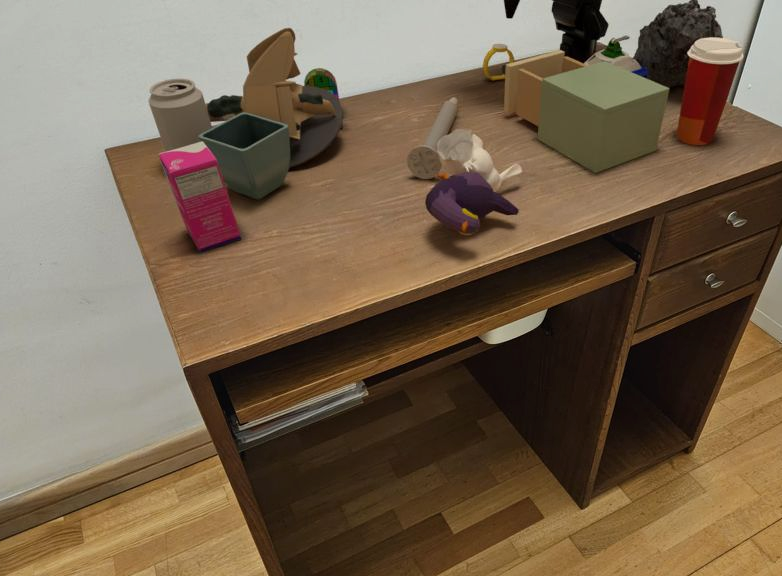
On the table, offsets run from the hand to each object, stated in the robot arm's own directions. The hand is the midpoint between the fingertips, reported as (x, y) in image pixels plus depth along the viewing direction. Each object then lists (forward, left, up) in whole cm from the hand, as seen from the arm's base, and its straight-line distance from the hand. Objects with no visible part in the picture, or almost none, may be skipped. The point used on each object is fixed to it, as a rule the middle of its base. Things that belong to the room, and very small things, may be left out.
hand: (509, 17), depth 110 cm
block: (+35, -6, -12) cm, 38 cm away
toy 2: (+29, +27, -8) cm, 41 cm away
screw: (+23, +9, -11) cm, 27 cm away
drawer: (+2, +14, -11) cm, 18 cm away
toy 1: (+43, -2, -9) cm, 44 cm away
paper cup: (-12, +33, -12) cm, 38 cm away
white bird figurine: (+28, +27, -4) cm, 39 cm away
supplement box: (+61, +17, -12) cm, 64 cm away
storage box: (+2, +26, -12) cm, 29 cm away
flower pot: (+51, +9, -12) cm, 54 cm away
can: (+57, -4, -12) cm, 58 cm away
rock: (-24, +17, -12) cm, 32 cm away
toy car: (-12, +13, -12) cm, 22 cm away
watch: (-1, -5, -12) cm, 13 cm away
